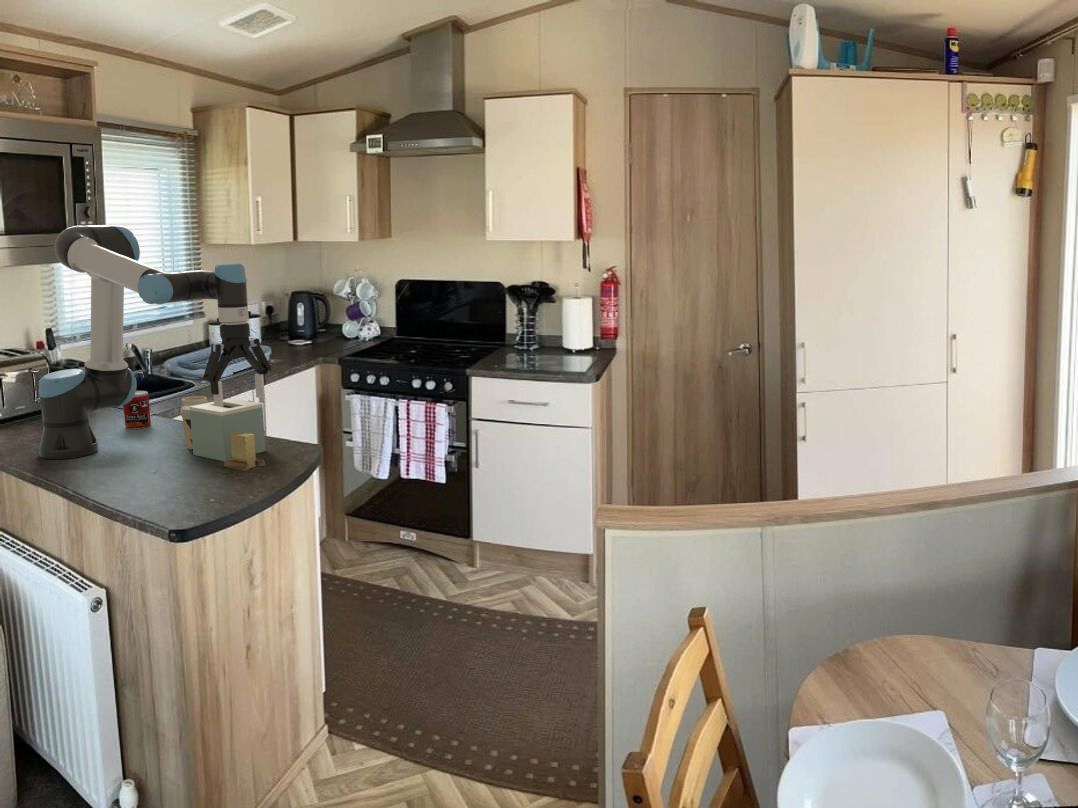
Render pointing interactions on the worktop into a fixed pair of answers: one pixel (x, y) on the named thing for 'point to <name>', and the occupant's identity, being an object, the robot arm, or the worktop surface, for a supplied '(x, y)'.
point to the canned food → (137, 411)
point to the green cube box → (225, 427)
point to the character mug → (193, 401)
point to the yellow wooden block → (243, 448)
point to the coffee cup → (187, 425)
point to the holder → (242, 464)
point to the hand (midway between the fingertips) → (240, 402)
